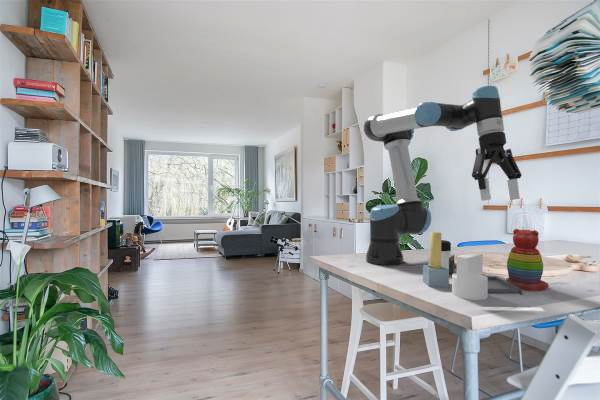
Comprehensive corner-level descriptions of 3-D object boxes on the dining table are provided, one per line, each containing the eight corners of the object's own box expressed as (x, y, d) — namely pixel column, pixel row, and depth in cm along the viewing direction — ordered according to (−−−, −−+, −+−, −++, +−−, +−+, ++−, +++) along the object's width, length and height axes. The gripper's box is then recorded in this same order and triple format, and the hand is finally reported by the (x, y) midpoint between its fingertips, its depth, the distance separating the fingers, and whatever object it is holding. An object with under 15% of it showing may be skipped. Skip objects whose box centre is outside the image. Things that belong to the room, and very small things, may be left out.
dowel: (428, 282, 110) (428, 232, 109) (438, 282, 109) (439, 232, 109) (431, 285, 106) (432, 233, 106) (442, 285, 106) (442, 233, 106)
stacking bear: (550, 287, 106) (551, 229, 105) (541, 294, 99) (542, 232, 98) (510, 280, 114) (511, 226, 113) (499, 286, 107) (500, 229, 106)
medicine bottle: (449, 277, 118) (449, 242, 117) (427, 274, 122) (428, 241, 121) (454, 273, 123) (454, 240, 123) (433, 270, 127) (434, 238, 127)
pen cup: (422, 283, 111) (422, 265, 111) (441, 283, 111) (441, 265, 110) (428, 289, 105) (428, 269, 105) (448, 289, 105) (449, 269, 105)
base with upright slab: (462, 290, 103) (462, 250, 103) (493, 298, 96) (494, 255, 96) (445, 296, 98) (445, 254, 97) (477, 305, 91) (478, 259, 90)
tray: (464, 281, 112) (464, 275, 112) (496, 282, 112) (496, 276, 112) (485, 295, 98) (485, 288, 98) (521, 295, 98) (521, 288, 98)
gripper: (474, 127, 102) (484, 198, 100) (527, 133, 113) (537, 197, 110) (453, 135, 109) (462, 202, 107) (505, 140, 120) (515, 200, 117)
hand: (501, 199), depth 108 cm, fingers open, 13 cm apart
